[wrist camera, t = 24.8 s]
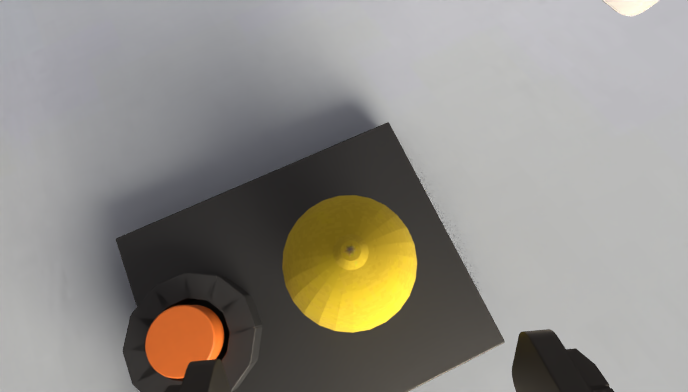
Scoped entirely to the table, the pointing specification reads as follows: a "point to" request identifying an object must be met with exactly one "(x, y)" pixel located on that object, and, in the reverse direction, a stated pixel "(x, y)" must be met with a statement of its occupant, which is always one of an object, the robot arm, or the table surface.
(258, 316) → the scale
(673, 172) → the table surface
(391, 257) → the lemon
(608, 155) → the table surface
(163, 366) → the button
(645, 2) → the calculator
